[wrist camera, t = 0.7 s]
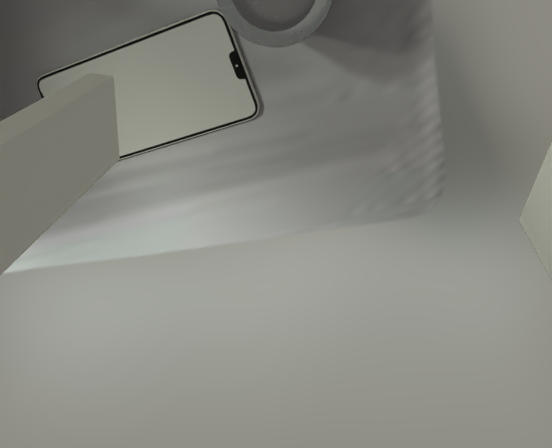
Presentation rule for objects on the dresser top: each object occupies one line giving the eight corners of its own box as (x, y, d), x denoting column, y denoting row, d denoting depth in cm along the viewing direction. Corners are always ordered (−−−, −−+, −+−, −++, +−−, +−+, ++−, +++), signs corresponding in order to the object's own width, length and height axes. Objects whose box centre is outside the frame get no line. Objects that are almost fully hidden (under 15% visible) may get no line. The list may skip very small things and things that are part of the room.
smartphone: (30, 79, 35) (221, 4, 30) (35, 76, 35) (224, 2, 31) (83, 171, 38) (263, 116, 33) (87, 168, 38) (265, 113, 34)
